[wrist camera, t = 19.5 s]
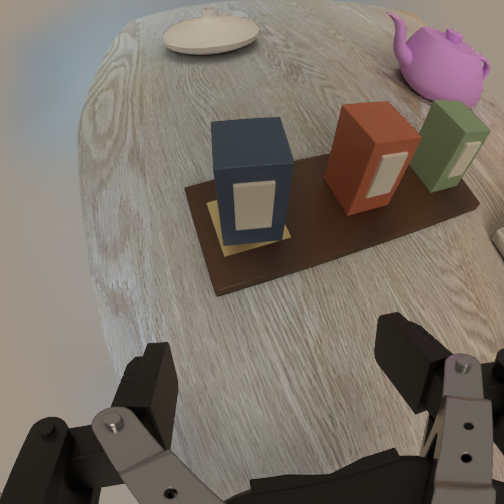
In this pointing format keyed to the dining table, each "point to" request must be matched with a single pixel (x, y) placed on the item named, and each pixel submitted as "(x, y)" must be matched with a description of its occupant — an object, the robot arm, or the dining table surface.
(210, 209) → the brown board
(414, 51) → the teapot
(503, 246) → the packaged product
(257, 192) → the navy box with label
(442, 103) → the green block
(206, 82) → the dining table surface
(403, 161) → the orange block
